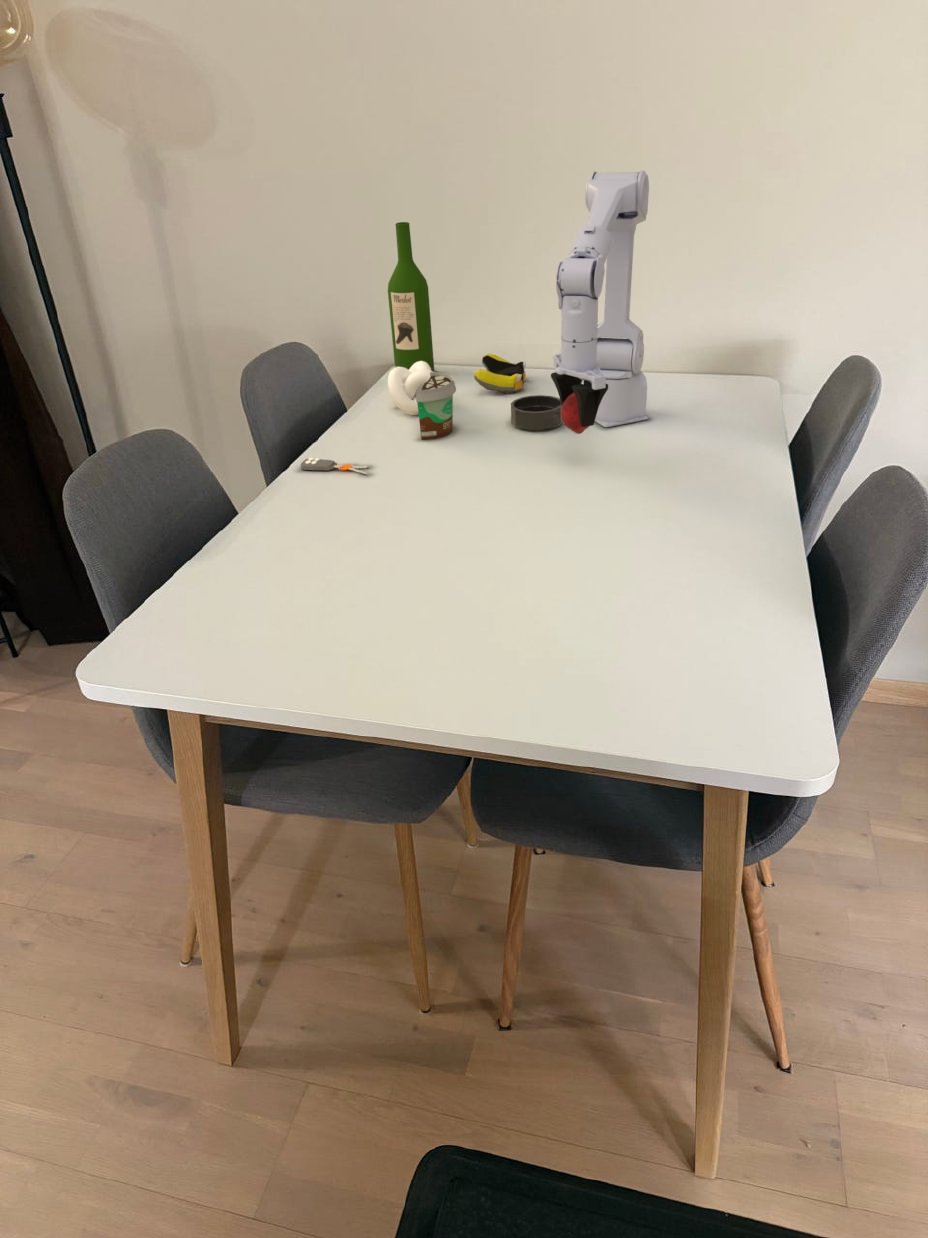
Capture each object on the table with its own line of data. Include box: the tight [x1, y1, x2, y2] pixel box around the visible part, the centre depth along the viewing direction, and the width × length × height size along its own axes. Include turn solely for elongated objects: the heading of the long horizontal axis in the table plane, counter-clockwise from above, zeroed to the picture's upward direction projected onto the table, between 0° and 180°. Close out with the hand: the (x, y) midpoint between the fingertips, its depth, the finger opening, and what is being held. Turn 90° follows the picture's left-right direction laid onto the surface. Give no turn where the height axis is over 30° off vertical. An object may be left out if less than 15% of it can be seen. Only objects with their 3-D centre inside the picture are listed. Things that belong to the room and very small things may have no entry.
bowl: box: [510, 394, 563, 432], centre depth 175 cm, size 10×10×4 cm
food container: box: [416, 371, 457, 441], centre depth 173 cm, size 12×6×10 cm, turn 168°
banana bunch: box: [473, 353, 527, 395], centre depth 196 cm, size 15×6×10 cm
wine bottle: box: [387, 221, 435, 372], centre depth 199 cm, size 9×9×32 cm
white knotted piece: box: [387, 361, 433, 416], centre depth 186 cm, size 11×12×9 cm
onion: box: [561, 393, 590, 435], centre depth 150 cm, size 6×6×8 cm
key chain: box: [300, 457, 369, 475], centre depth 162 cm, size 13×4×2 cm, turn 75°
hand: (578, 419), depth 151 cm, fingers closed on onion, 6 cm apart
